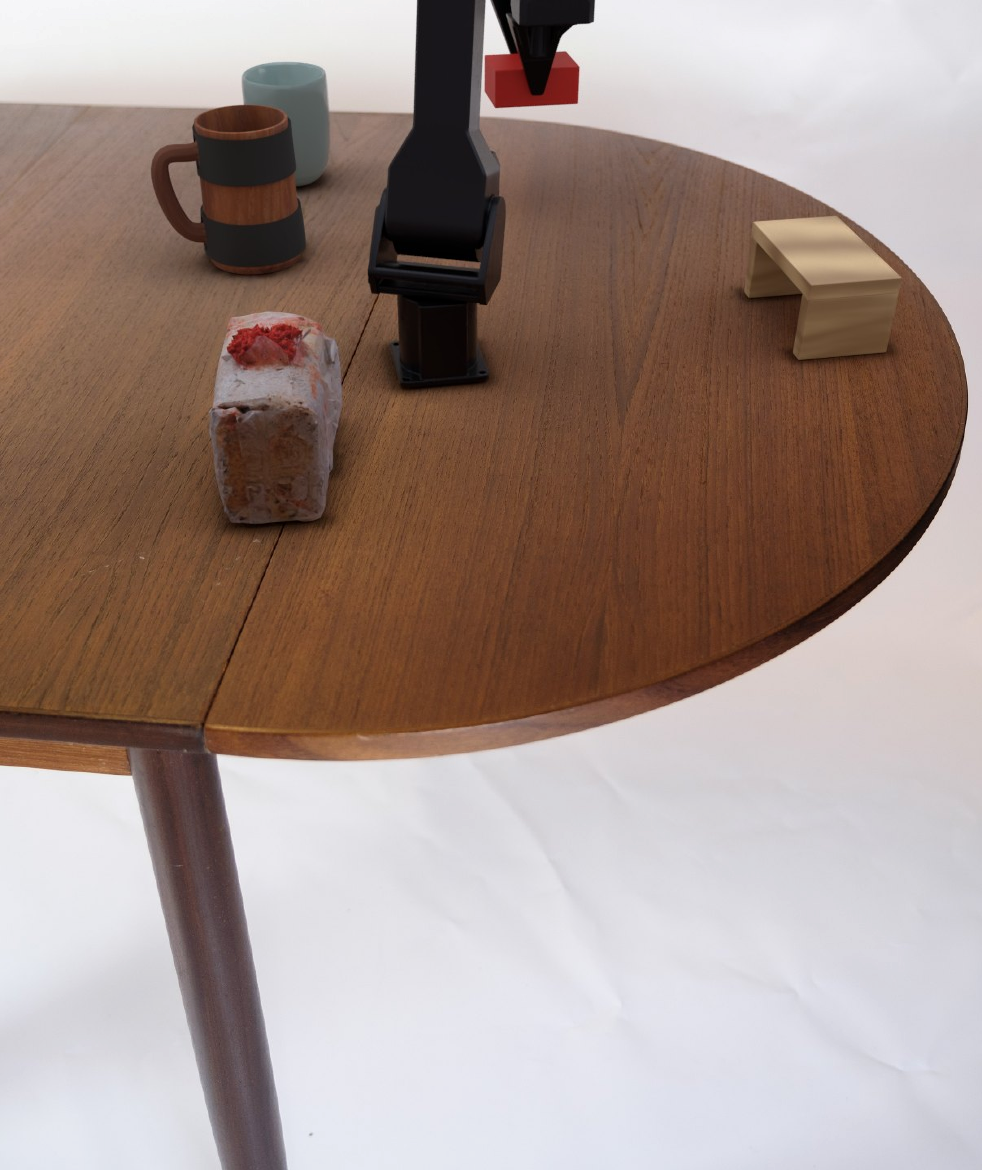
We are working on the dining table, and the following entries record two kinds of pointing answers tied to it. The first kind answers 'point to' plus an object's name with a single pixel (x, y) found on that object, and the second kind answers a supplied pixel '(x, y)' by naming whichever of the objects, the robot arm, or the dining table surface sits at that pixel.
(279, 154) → the mug
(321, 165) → the cup
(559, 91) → the block
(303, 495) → the food item
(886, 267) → the stand
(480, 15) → the robot arm
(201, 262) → the dining table surface
